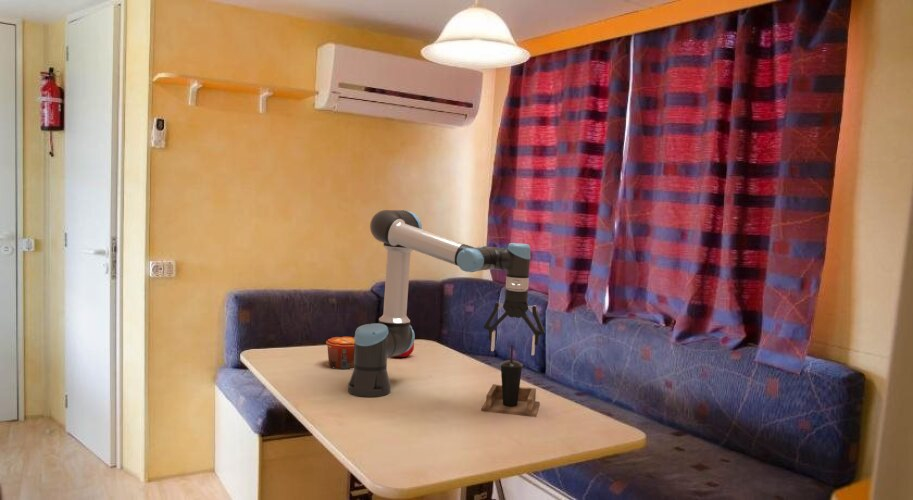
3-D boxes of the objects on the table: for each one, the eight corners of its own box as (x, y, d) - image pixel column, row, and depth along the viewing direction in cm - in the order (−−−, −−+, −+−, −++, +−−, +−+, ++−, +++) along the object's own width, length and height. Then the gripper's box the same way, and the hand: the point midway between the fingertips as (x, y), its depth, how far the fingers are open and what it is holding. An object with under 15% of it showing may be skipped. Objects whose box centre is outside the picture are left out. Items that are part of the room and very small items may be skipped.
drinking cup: (519, 408, 214) (521, 347, 214) (497, 406, 216) (498, 346, 216) (523, 402, 222) (524, 344, 221) (500, 400, 224) (502, 342, 223)
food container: (372, 365, 270) (373, 339, 269) (346, 372, 256) (347, 345, 256) (343, 359, 278) (344, 334, 278) (316, 366, 265) (317, 340, 264)
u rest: (481, 410, 214) (481, 394, 214) (488, 399, 228) (488, 383, 227) (535, 416, 210) (536, 400, 210) (539, 404, 224) (540, 388, 224)
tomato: (412, 360, 282) (413, 334, 281) (381, 359, 282) (382, 332, 281) (414, 354, 294) (415, 328, 293) (385, 352, 294) (386, 327, 293)
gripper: (478, 287, 215) (474, 350, 217) (553, 294, 210) (549, 358, 212) (481, 285, 223) (478, 346, 224) (555, 291, 218) (550, 353, 219)
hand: (512, 352), depth 218 cm, fingers open, 13 cm apart
